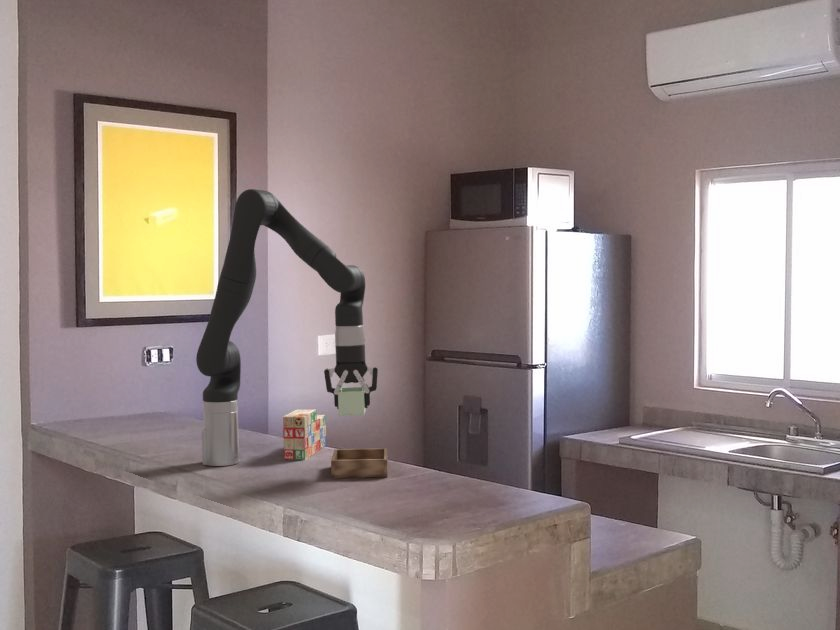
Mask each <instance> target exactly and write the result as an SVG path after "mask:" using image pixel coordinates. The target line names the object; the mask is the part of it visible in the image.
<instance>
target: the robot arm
mask: <svg viewBox="0 0 840 630" xmlns="http://www.w3.org/2000/svg"><path fill="white" fill-rule="evenodd" d="M232 217H233V218H232V224H231V231H230V236H229V241H228V244H227V249H226V252H225V257H224V261H223V265H222V268H221V272H220V275H219V279H218V284H217V287H216V292H215V296H214V300H213V303H212V307H211V310H210V314H209V318H208V322H207V324H206V327H205V331H204V332H203V335H202V339H201V340H200V343H199V346H198V348H197V352H196V356H195V357H196V359H195V360H196V362H195V363H196V367H197V369H198V371H199V372H200V374H202V375H204V376H206V377H210V380H209V383H208V384H207V386H206V387H205V388H204V389H203V391H202V413H203V415H202V417H203V421H202V422H203V428H202V430H201V445H202V446H201V447H202V448H201V449H202V466H210V467H223V466H232V465H236V464H238V463H240V452H239V450H240V449H239V448H240V447H239V445H240V442H239V409H238V408H239V407H238V405H239V404H238V402H239V401H238V397H239V396H238V394H239V391H240V388H241V376H242V375H241V373H242V372H241V371H242V370H241V367H242V366H241V365H242V363H241V362H242V361H241V360H242V359H241V354H240V350H239V348H238V346H237V345H236V344H235V343H234V342H233V341H230V339H231V335H232V332H233V330H234V328H235V326H236V323H237V322H238V320H239V319H240V317H241V316H242V314H243V312H245V310H246V308H247V306H249V304H250V303H249V302H251V297H252V296H253V295H252V294H253V291H254V288H255V283H256V279H257V264H256V256H255V255H256V254H255V246H256V240H257V237H258V234H259V230H260V228H261V226H264V227H266V228H268V229H270V230H271V231H272V232H274V233H276V234H278V235H279V236H280V237H281V238H282V239H283V240H284V241H285V242H286V243H287V244H288V246H289V247H290V248H291V250H292V251H293V252H294V254H295V255H296V256H297V257H299V258H300V260H301V261H302V262H304V263H305V264H306V265H308V266H309V267H310V268H311V269H313V270H314V271H316V272H317V274H318V275H319V276H320V277H321V279H322V280H323V281H324V282H325V283H326V284H327V286H329V287H330V288H331V290H334V291H335V292H337V293H340V294H339V295H340V296H339V303H337V305H336V306H335V308H334V318H335V319H334V321H335V330H334V331H335V333H334V346H335V366H334V368H325V369H324V370H323V373H324V381H325V387H326V392H327V393H329V394H333V397H334V398H333V399H334V406H335V407H336V409H337V410H339V407H338V391H339V390H340V389H341V388H343V385H344V384H350V383H352V384H358V383H359V385H360V387H362V388H363V389H364V391H365V393H364V402H365V408H366V409H368V407H370V405H371V395H370V394H371V393H372V392H375V391H377V389H378V388H377V387H378V371H379V368H378V367H377V366H368V365H367V363H366V343H365V342H366V339H365V330H364V318H363V305H364V301H365V299H364V298H365V294H366V293H365V291H366V278H365V274H364V271H363V270H362V269H361V268H360V267H359V266H357V265H353V264H351V265H348V264H347V265H346V264H345V263H343V262H342V261H341V260H340V259H338V257H337V253H336V251H334V250H333V248H331V247H329V245H328V244H326V243H325V242H324V241H323V240H321V239H319V238H318V237H317V236H316V235H315V234H313V232H311V231H310V230H309V229H307V228H306V227H305V226H304V225H303V224H302V223H301V222H300V221H299V220H297V219H296V218H295V216H293V215H292V214H291V212H290V211H288V209H287V208H286V207H285V206H284V204H283V203H282V202H281V201H280V200H279V199H278V198H277V197H276V196H275V195H274V194H273V193H271V192H270V191H268V190H262V189H255V188H250V189H249V188H248V189H246V190H244V191H242V192H241V193H240V194H239V196H238V197H237V199H236V202H235V206H234V211H233V216H232ZM367 372H369V375H370V376H371V377H372V379H371V386H368V384H367V382H366V379H365V378H364V376H365V375H366V373H367ZM334 373H335V374H336V376H337V377H338V378H339V380H338V382H337V385H336V386H335V387H333V385H332V378H333V375H334Z"/></svg>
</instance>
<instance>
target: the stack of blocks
mask: <svg viewBox="0 0 840 630" xmlns="http://www.w3.org/2000/svg"><path fill="white" fill-rule="evenodd" d="M282 420H283V424H282V425H283V427H282V428H283V429H282V430H283V431H282V432H283V437H282V438H283V460H286V461H288V460H289V461H291V460H293V461H306V460H308V459H309V458H311V457H312V456H314V455H315V454H316V453H317V452H319V451H320V450H322V449H323V448H324V447H326V446H327V425H326V414H318V413H317V409H294V410H293V411H290V413H287V414H285V415H283V416H282ZM320 447H322V448H320ZM319 449H320V450H319ZM318 450H319V451H318ZM316 451H317V452H316ZM315 452H316V453H315ZM314 453H315V454H314ZM313 454H314V455H313ZM311 455H312V456H311ZM310 456H311V457H310ZM308 457H309V458H308ZM287 459H288V460H287ZM305 459H306V460H305Z"/></svg>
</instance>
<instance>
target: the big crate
mask: <svg viewBox="0 0 840 630" xmlns="http://www.w3.org/2000/svg"><path fill="white" fill-rule="evenodd" d="M330 466H331V467H330V469H331V470H330V478H331V479H364V478H365V477H381V478H388V469H389V468H388V448H386V447H385V448H381V447H380V448H343V449H341V448H340V449H339V448H338V449H334V450H333V453H332V456H331V459H330ZM387 468H388V469H387ZM365 479H366V478H365Z"/></svg>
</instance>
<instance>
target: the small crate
mask: <svg viewBox="0 0 840 630" xmlns="http://www.w3.org/2000/svg"><path fill="white" fill-rule="evenodd" d="M364 393H365V391H364V389H363V388H362V386H350V387H345V386H344V387H343V386H342V387H341V389H340V390H339V391H338V407H339V409H338V416H339V417H347V416H349V417H350V416H365V414H366V409H367V408H365V402H364Z"/></svg>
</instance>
